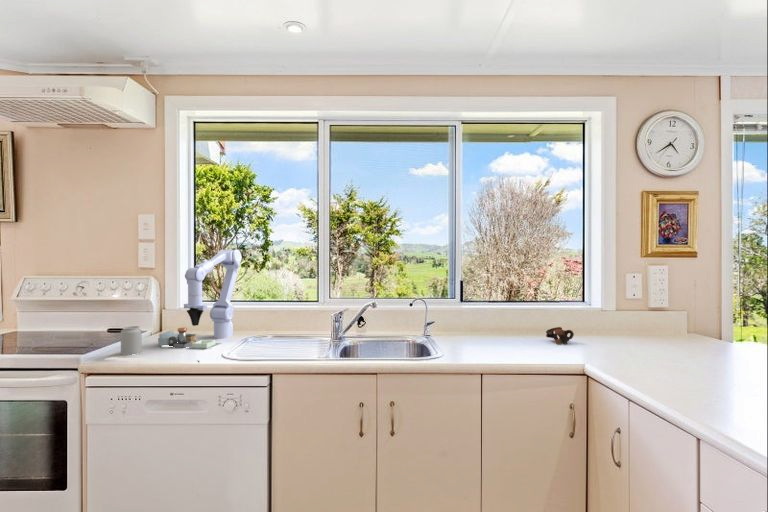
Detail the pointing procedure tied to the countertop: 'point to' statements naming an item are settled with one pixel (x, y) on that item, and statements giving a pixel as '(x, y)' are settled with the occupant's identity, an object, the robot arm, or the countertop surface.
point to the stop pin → (182, 335)
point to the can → (131, 340)
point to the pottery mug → (560, 335)
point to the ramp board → (187, 345)
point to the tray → (204, 344)
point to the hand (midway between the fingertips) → (195, 325)
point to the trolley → (168, 338)
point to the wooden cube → (191, 338)
